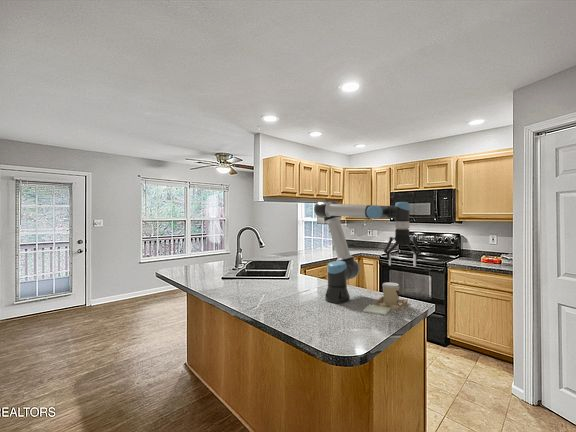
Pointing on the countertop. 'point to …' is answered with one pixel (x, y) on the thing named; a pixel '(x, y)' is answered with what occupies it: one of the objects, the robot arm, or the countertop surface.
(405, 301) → the oak frame
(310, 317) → the countertop surface
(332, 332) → the countertop surface
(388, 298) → the coffee cup
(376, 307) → the sage tile
